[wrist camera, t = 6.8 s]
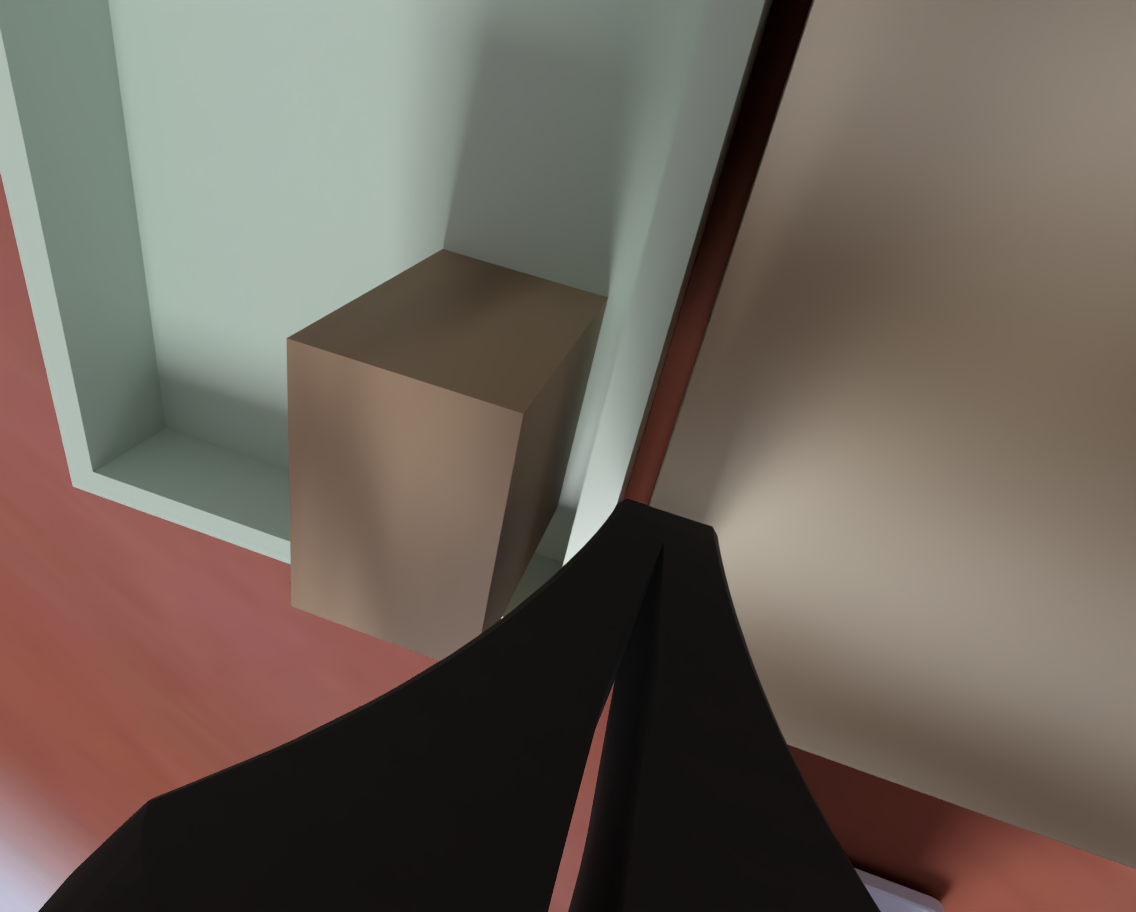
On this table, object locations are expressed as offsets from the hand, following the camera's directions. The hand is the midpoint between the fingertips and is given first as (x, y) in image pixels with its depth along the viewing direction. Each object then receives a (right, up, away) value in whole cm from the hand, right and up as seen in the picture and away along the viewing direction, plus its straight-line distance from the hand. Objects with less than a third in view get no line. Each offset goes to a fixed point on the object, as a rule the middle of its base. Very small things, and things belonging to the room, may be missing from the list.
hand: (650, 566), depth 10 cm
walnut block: (-2, +1, +1) cm, 2 cm away
